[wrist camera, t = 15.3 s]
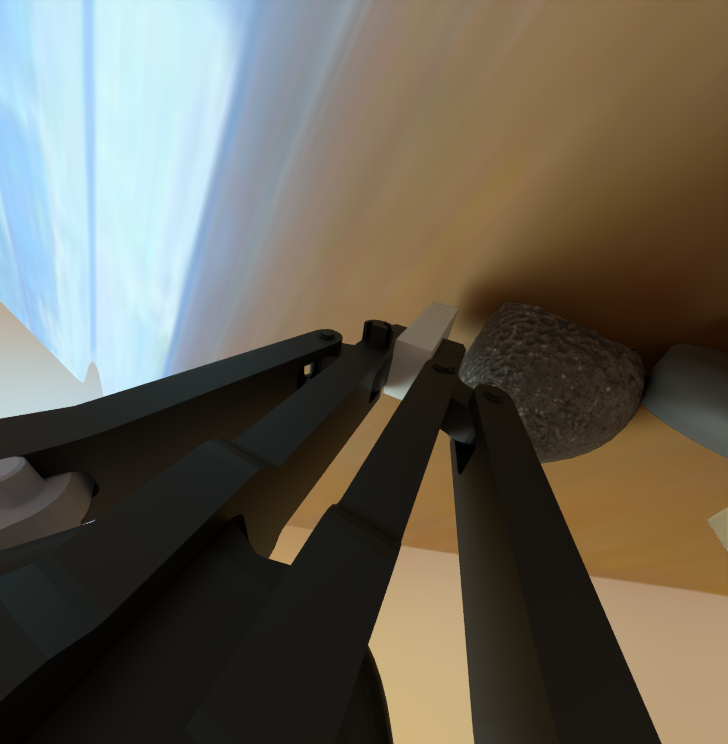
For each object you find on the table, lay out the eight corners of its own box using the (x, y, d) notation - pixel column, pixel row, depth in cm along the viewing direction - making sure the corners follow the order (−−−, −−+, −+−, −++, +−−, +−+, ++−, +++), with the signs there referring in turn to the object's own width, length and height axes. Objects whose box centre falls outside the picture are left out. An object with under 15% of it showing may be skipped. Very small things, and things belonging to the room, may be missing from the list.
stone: (604, 293, 16) (494, 246, 12) (731, 419, 12) (626, 416, 7) (487, 378, 23) (392, 368, 19) (537, 477, 19) (427, 493, 15)
